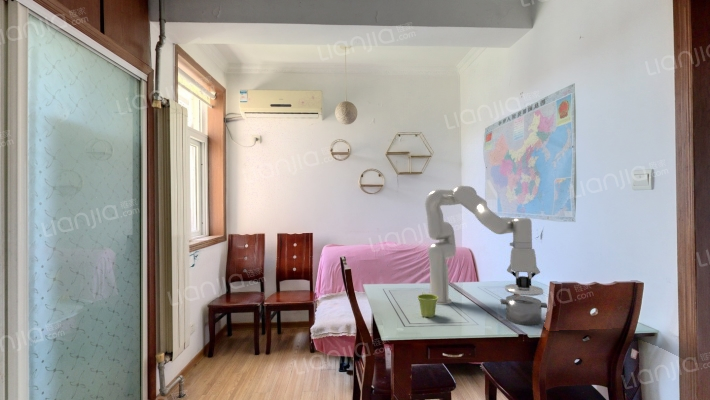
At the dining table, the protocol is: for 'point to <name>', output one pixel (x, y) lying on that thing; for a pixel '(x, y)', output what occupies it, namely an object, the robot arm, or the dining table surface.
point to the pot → (523, 310)
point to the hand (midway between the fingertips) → (523, 286)
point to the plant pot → (427, 304)
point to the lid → (524, 288)
